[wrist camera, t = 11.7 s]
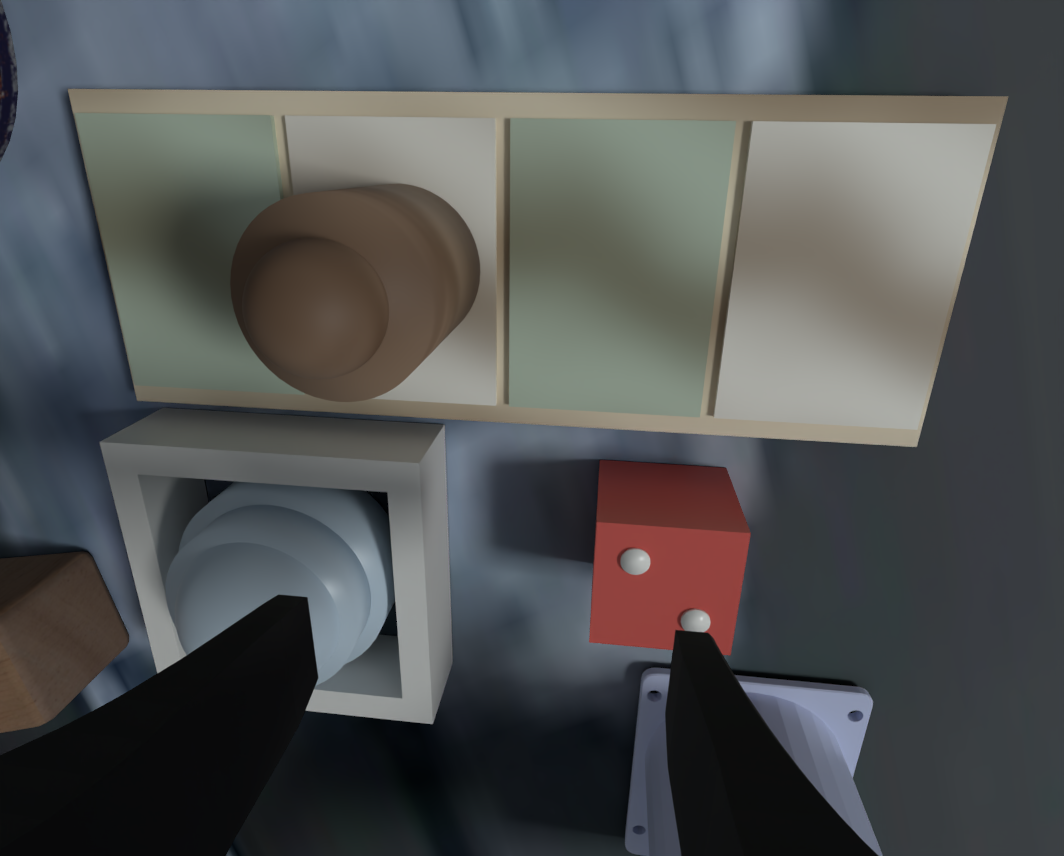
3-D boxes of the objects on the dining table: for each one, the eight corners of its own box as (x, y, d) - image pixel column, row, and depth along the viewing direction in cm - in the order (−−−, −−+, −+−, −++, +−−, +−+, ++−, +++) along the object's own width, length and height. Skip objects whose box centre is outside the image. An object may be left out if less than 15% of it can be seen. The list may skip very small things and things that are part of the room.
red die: (711, 573, 22) (730, 657, 18) (593, 564, 23) (589, 644, 19) (726, 468, 21) (751, 535, 17) (599, 459, 21) (597, 523, 17)
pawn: (480, 348, 19) (408, 446, 12) (334, 338, 19) (192, 428, 13) (480, 186, 17) (397, 203, 11) (320, 180, 18) (149, 192, 11)
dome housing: (452, 662, 25) (432, 724, 22) (211, 638, 26) (163, 695, 23) (444, 424, 21) (419, 463, 18) (163, 407, 22) (99, 442, 19)
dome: (410, 641, 24) (356, 766, 19) (229, 624, 25) (132, 741, 20) (398, 469, 21) (333, 562, 16) (196, 456, 22) (75, 541, 17)
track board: (902, 433, 20) (919, 449, 19) (156, 390, 22) (132, 402, 21) (985, 100, 16) (1013, 95, 15) (94, 92, 19) (61, 88, 18)
